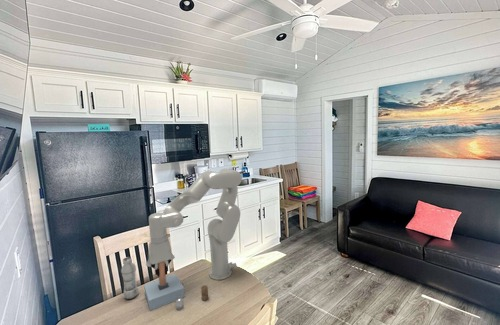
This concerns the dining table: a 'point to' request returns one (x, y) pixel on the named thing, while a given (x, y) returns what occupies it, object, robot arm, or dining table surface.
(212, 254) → the robot arm
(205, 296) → the mid pin
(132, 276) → the plastic bottle
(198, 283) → the dining table surface
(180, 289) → the hole block
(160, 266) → the long pin
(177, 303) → the short pin
